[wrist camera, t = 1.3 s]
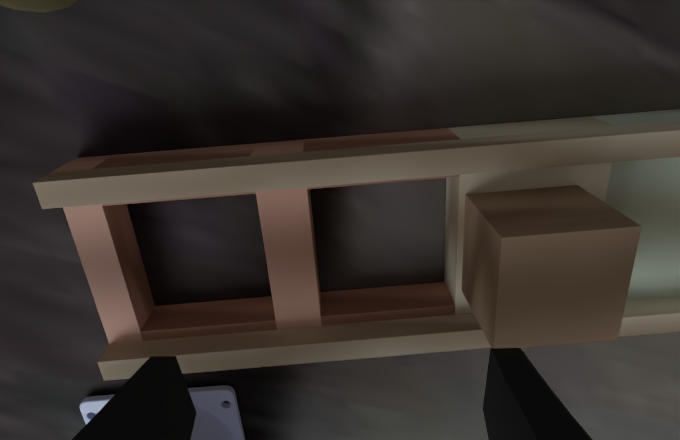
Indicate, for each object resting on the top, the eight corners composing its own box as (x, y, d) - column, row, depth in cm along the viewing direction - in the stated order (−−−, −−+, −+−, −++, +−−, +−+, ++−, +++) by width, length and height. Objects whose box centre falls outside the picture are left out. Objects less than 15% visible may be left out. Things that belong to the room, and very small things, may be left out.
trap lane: (722, 284, 23) (787, 327, 20) (131, 333, 23) (101, 385, 19) (778, 101, 19) (869, 117, 16) (77, 157, 19) (27, 185, 16)
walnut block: (563, 281, 20) (617, 340, 16) (461, 290, 20) (493, 350, 16) (577, 184, 18) (642, 226, 15) (465, 194, 18) (501, 237, 15)
